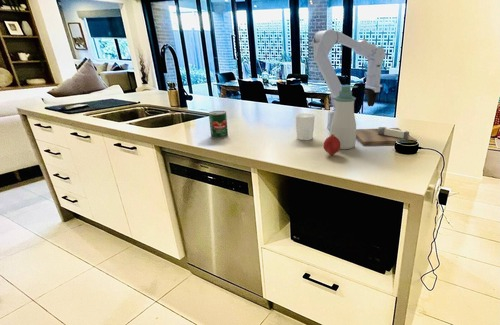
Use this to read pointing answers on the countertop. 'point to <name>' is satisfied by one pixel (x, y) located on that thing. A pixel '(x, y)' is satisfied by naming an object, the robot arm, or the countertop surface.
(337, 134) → the soap bottle
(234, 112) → the countertop surface
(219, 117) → the canned tomato
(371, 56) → the robot arm
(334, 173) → the countertop surface
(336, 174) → the countertop surface
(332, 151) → the onion
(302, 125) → the white cup
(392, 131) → the dial lever
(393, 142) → the dial board
